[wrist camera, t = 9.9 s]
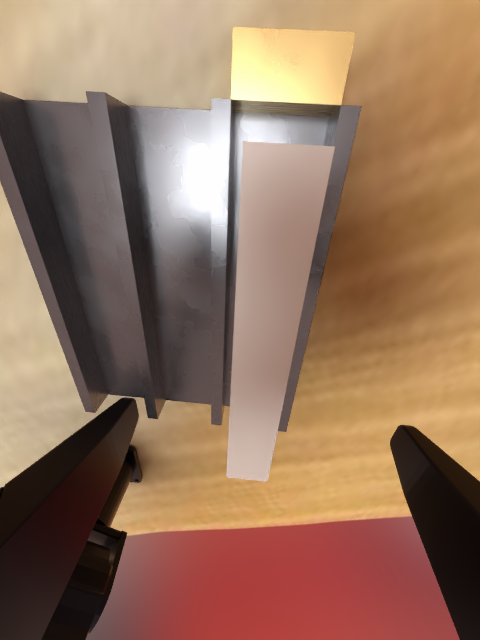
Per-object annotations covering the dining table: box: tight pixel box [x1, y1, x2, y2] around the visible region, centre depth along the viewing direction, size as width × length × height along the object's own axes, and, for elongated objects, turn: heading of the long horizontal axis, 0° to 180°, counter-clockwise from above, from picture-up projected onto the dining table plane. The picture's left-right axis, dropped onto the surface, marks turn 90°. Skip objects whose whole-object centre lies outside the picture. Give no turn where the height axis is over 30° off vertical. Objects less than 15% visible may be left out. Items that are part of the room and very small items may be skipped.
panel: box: [226, 141, 335, 482], centre depth 13 cm, size 16×2×7 cm, turn 177°
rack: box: [0, 27, 362, 432], centre depth 16 cm, size 22×16×3 cm
